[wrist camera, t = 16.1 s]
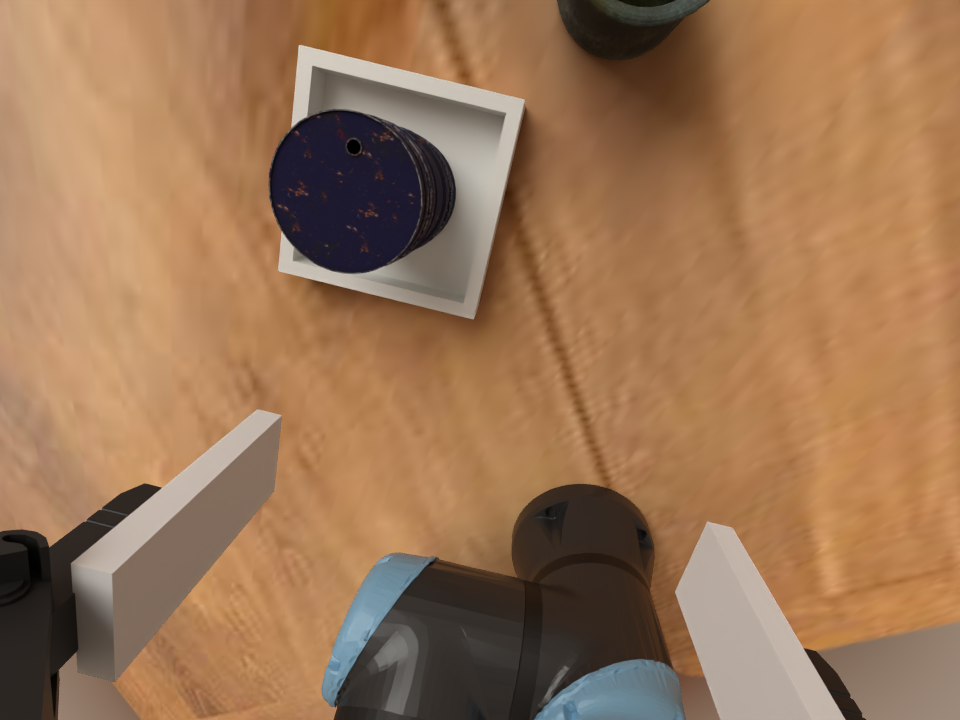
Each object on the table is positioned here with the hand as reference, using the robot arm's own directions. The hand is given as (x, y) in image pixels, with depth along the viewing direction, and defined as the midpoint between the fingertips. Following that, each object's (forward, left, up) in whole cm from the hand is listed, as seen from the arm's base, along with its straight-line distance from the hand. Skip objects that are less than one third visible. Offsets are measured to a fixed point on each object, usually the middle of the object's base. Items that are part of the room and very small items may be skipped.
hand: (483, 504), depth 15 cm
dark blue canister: (+6, +12, -34) cm, 36 cm away
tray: (+6, +12, -35) cm, 37 cm away
